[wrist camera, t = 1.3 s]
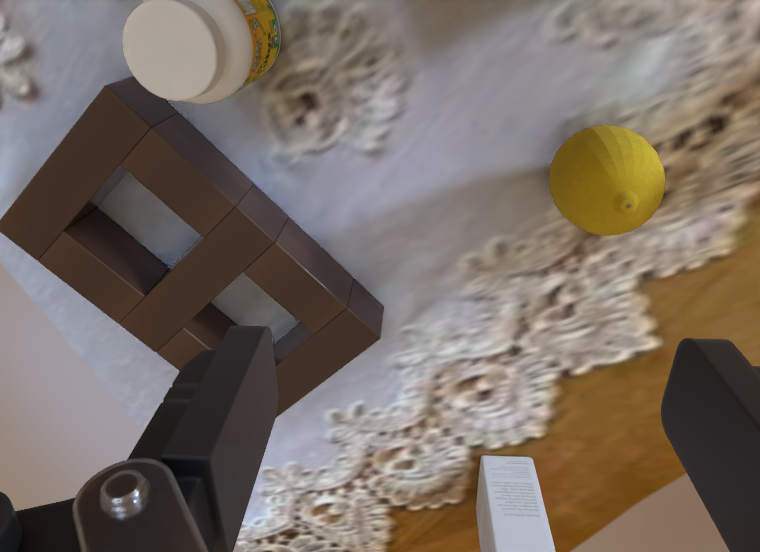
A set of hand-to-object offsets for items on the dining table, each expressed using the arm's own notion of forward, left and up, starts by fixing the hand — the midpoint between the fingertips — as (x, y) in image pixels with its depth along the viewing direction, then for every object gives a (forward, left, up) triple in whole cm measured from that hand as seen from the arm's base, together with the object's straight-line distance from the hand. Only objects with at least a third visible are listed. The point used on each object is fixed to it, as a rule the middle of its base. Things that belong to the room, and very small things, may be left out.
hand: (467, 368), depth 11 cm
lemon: (+8, +5, -25) cm, 27 cm away
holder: (-3, -17, -25) cm, 30 cm away
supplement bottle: (-11, -5, -25) cm, 28 cm away
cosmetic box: (+26, -15, -25) cm, 39 cm away
